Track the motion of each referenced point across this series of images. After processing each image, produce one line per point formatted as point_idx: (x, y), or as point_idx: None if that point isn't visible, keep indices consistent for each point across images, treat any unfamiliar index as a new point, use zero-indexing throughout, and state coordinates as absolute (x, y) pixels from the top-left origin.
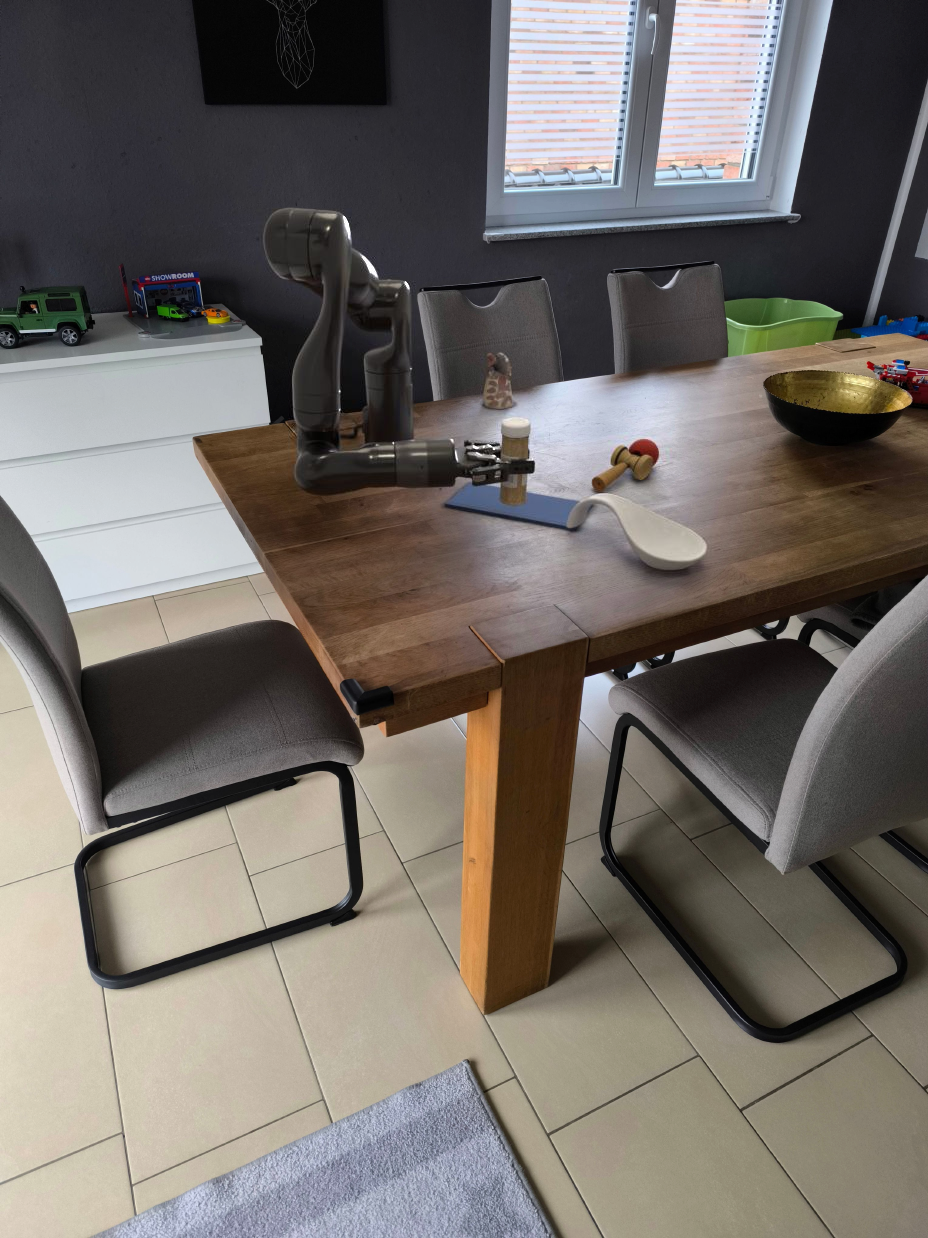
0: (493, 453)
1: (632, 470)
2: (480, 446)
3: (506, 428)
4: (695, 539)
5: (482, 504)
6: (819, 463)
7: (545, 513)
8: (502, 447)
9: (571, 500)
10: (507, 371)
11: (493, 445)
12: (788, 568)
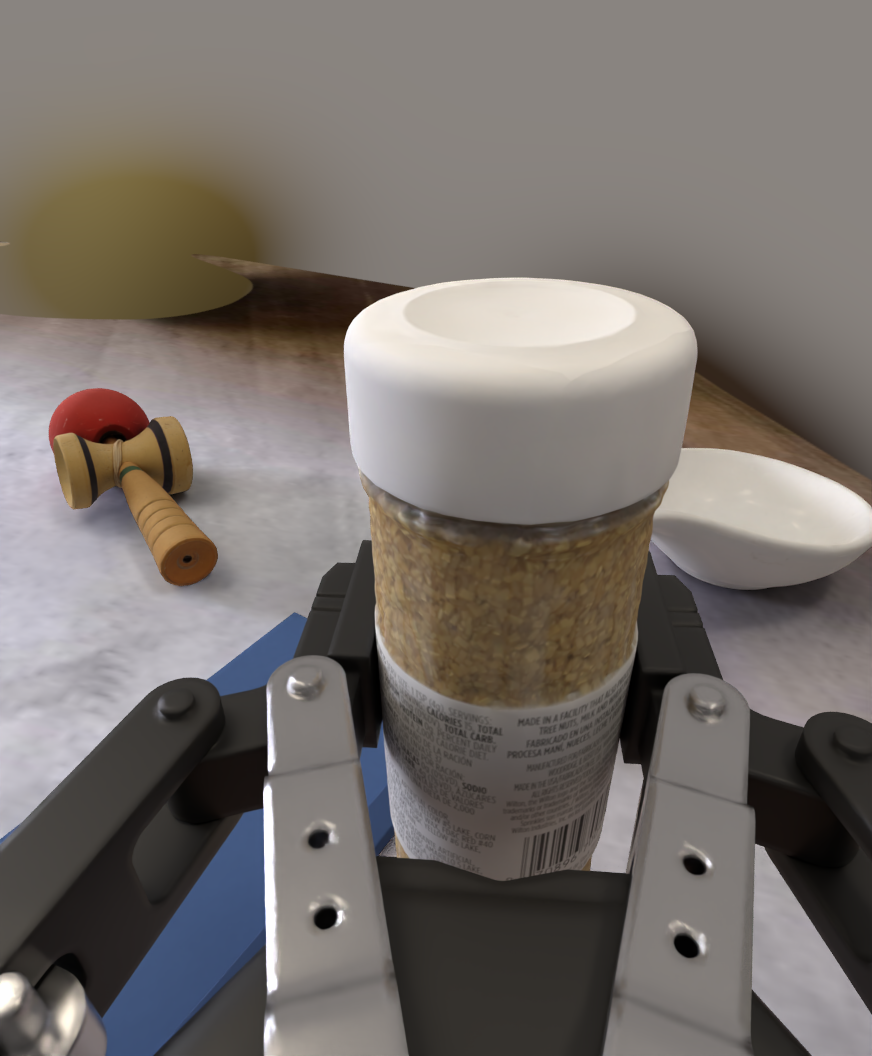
0: (218, 807)
1: (159, 478)
2: (296, 900)
3: (652, 405)
4: (696, 460)
5: None
6: (275, 317)
7: None
8: (538, 653)
9: (236, 662)
10: None
11: (197, 750)
12: (716, 414)
